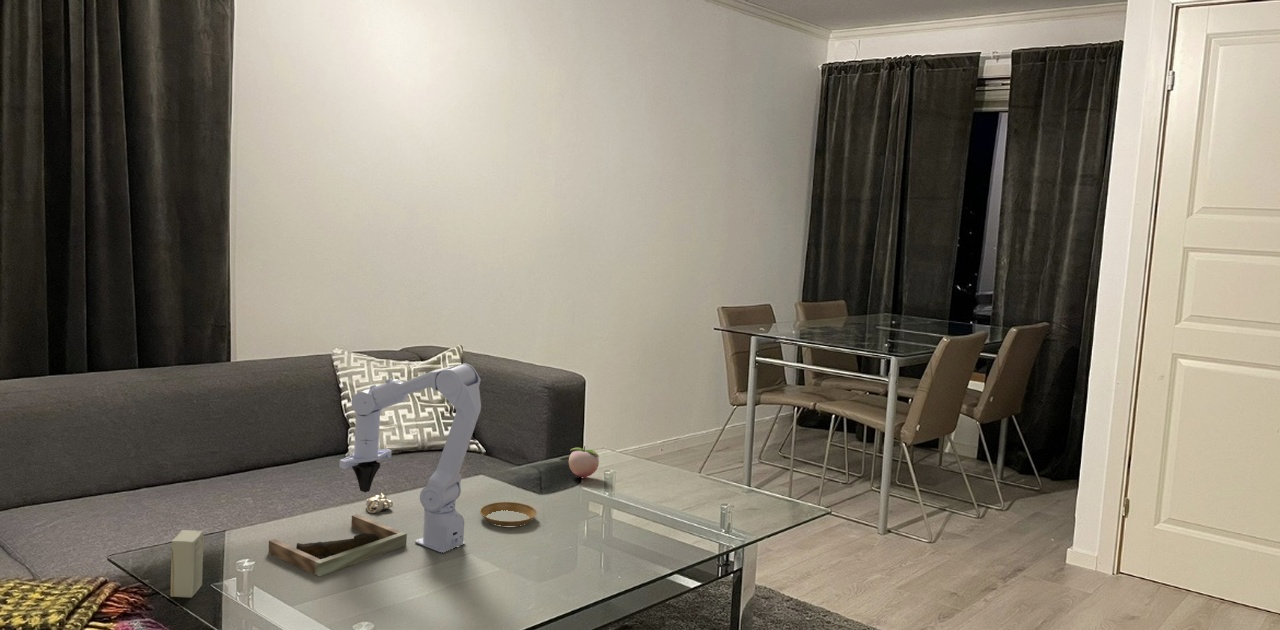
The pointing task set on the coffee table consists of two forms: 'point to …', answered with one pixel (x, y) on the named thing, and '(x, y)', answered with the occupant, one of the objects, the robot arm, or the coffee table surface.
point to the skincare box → (186, 563)
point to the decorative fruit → (583, 462)
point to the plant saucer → (510, 507)
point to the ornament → (378, 503)
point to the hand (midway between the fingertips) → (364, 490)
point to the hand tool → (336, 545)
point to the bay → (319, 567)
